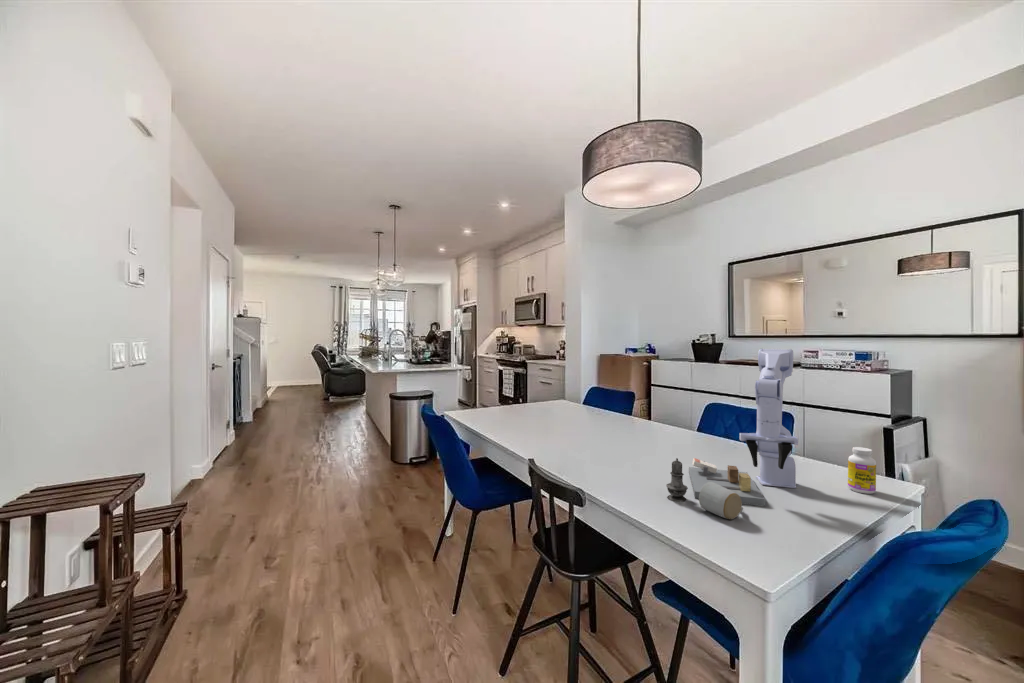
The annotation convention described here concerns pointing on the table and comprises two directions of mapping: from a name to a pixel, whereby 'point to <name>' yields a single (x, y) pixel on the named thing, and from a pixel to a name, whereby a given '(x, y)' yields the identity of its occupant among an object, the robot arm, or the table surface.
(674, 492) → the grey stone rounded piece
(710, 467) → the rocker
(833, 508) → the table surface
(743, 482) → the tan wooden block
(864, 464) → the supplement bottle
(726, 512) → the ceramic mug
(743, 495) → the console
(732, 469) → the walnut knob
